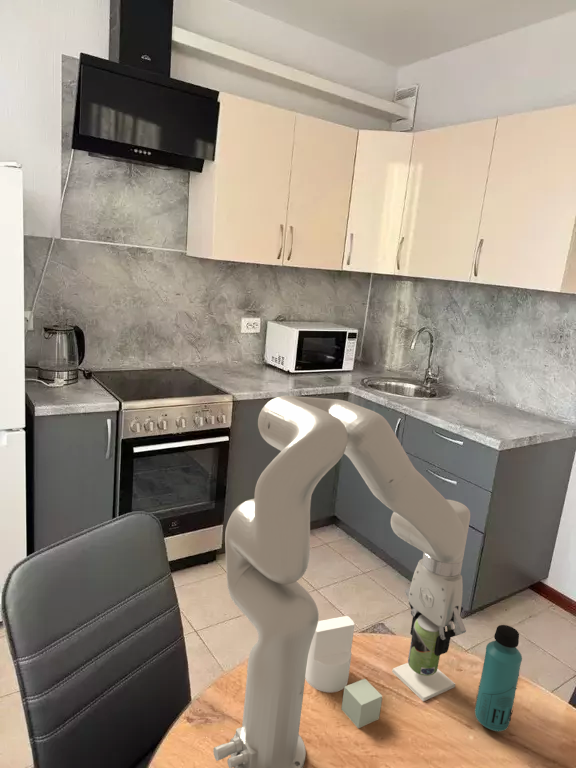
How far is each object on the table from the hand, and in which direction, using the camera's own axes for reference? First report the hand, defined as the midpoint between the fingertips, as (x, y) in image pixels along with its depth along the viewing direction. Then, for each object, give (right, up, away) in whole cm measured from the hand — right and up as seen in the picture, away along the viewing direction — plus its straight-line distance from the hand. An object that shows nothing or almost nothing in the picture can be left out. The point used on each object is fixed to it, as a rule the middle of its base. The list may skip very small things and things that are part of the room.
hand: (428, 642), depth 113 cm
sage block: (-15, -9, -9) cm, 20 cm away
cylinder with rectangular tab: (-21, -7, 0) cm, 22 cm away
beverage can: (-1, -7, +2) cm, 7 cm away
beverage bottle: (+9, -12, -9) cm, 17 cm away
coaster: (-1, -9, +2) cm, 9 cm away
